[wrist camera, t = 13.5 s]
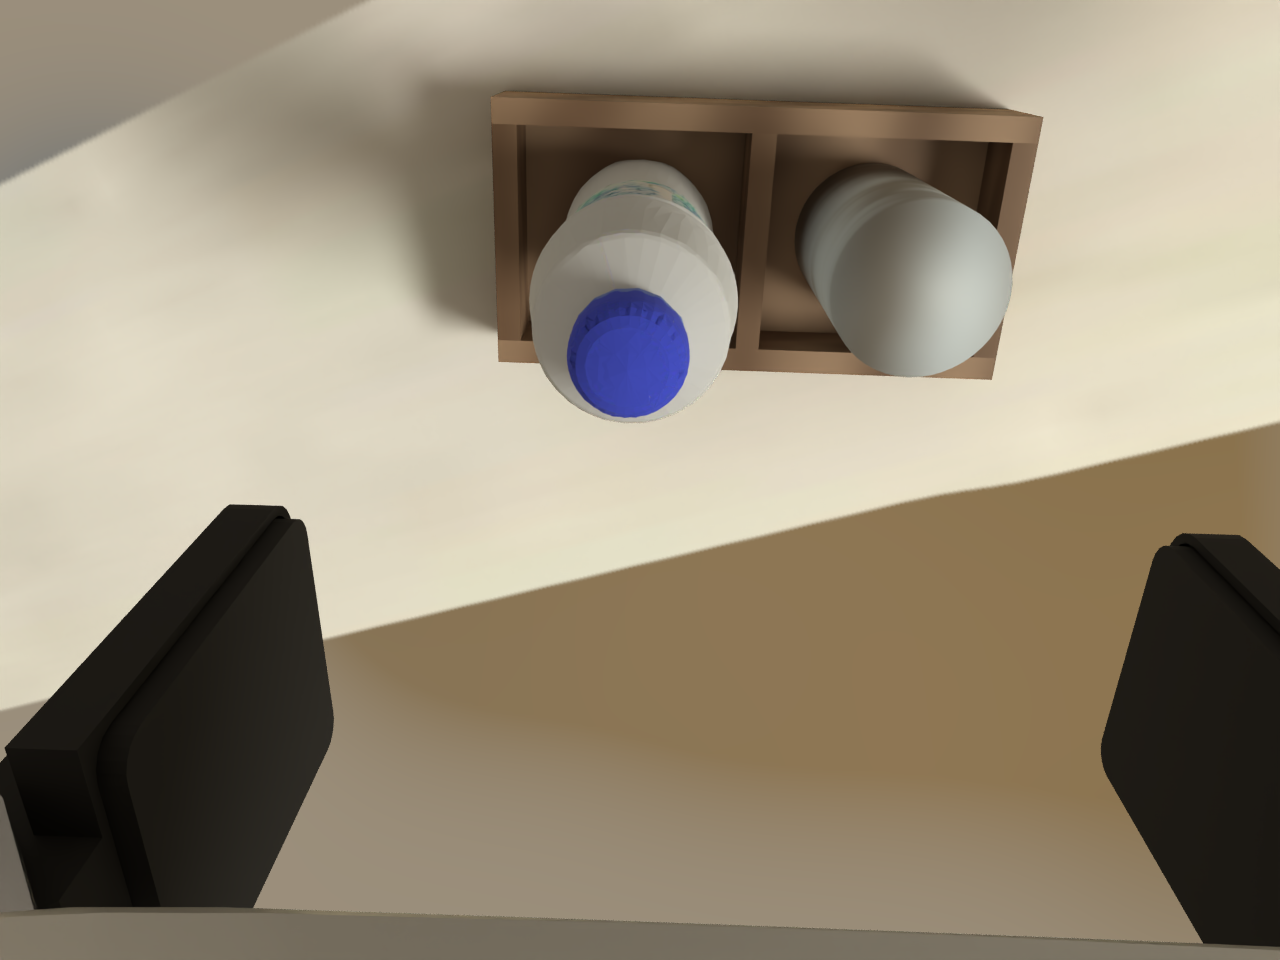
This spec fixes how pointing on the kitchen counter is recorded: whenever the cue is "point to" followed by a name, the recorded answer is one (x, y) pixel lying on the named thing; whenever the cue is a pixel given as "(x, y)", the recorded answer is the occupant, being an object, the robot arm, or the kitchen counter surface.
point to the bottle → (633, 296)
